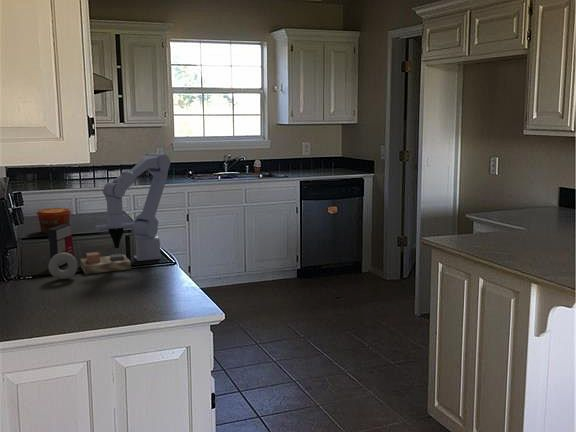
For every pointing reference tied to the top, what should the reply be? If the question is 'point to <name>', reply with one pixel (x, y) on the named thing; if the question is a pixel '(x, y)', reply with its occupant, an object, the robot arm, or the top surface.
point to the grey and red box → (60, 240)
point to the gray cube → (116, 257)
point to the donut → (63, 258)
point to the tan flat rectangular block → (105, 265)
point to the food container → (53, 218)
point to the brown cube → (93, 257)
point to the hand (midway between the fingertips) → (116, 247)
